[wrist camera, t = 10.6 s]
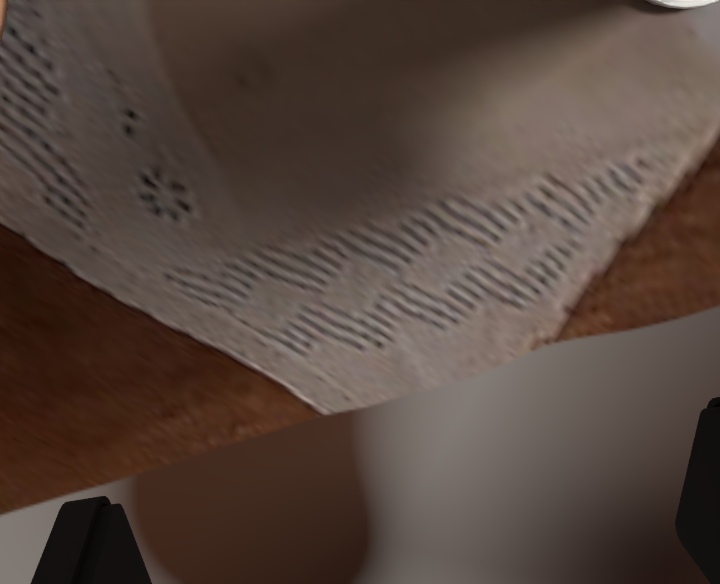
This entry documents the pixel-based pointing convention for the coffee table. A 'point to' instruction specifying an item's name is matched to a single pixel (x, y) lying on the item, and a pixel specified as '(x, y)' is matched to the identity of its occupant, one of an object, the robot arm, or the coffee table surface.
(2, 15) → the lid
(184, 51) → the coffee table surface
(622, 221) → the coffee table surface
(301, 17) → the coffee table surface
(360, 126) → the coffee table surface
